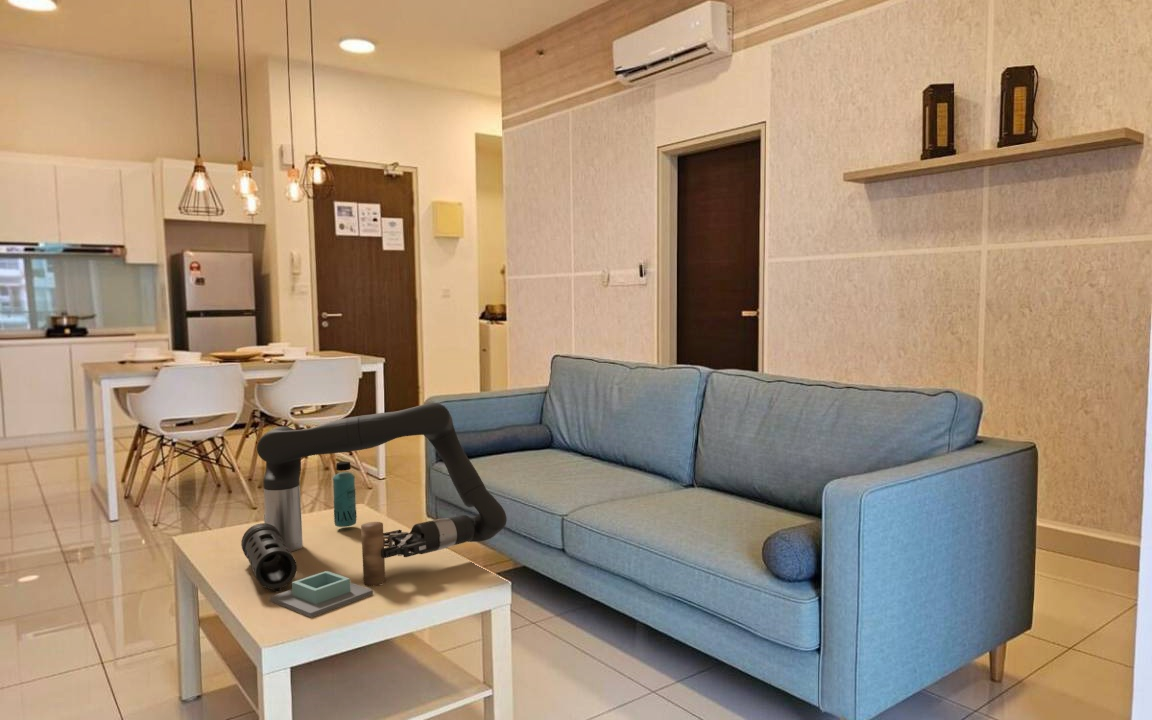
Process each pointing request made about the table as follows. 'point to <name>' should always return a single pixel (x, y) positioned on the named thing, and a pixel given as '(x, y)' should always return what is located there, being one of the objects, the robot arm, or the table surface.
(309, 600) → the socket stand
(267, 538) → the muzzle brake
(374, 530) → the walnut peg
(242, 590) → the table surface
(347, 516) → the beverage bottle
